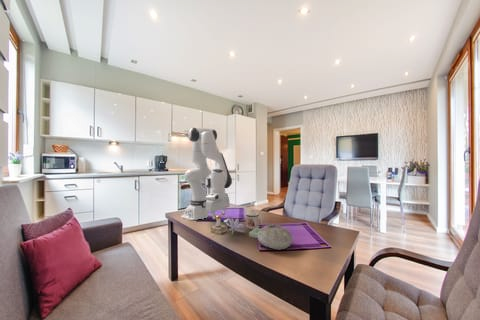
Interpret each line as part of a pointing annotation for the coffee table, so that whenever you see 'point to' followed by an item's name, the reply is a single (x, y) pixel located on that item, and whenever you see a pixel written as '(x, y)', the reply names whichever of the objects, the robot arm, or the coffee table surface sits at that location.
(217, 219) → the lock pin
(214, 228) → the tensioner block
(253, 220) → the teacup with lid
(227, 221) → the pulley
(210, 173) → the robot arm
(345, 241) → the coffee table surface
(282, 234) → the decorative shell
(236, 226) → the water lily
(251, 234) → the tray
